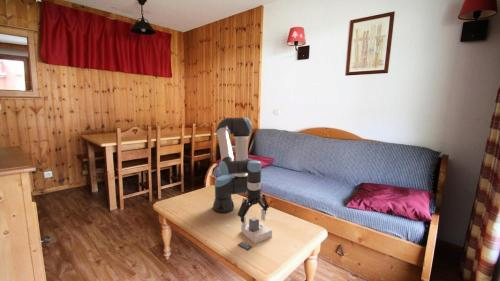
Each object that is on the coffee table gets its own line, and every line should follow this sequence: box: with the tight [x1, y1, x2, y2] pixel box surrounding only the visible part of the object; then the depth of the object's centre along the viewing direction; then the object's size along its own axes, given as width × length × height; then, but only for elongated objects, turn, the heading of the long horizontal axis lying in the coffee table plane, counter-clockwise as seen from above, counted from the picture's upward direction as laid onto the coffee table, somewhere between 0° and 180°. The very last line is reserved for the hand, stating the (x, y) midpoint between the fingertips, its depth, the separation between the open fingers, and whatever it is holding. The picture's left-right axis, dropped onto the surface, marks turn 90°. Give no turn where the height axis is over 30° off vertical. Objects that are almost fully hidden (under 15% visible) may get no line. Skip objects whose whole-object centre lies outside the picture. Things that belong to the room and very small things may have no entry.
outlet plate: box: [240, 220, 273, 244], centre depth 142 cm, size 14×12×4 cm
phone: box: [237, 241, 253, 251], centre depth 131 cm, size 7×4×1 cm, turn 51°
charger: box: [248, 216, 260, 232], centre depth 140 cm, size 4×4×10 cm
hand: (253, 223), depth 140 cm, fingers open, 13 cm apart
